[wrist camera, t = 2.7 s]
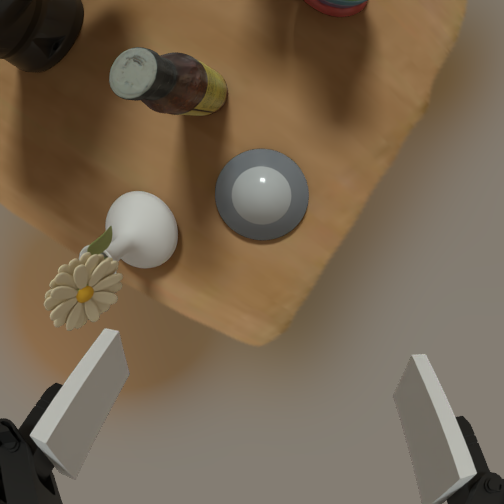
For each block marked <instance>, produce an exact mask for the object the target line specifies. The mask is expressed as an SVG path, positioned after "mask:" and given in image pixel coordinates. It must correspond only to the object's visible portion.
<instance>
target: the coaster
mask: <svg viewBox="0 0 504 504" xmlns="http://www.w3.org/2000/svg"><path fill="white" fill-rule="evenodd" d="M308 198H309V192H308V186H307V182H306V179H305V177H304V174H303V173H302V171H301V169H300V168H299V167H298V165H297V164H296V163H295V162H294V161H293V160H292V159H290V158H289V157H288V156H286V155H284V154H282V153H280V152H277V151H274V150H270V149H253V150H249V151H246V152H243V153H241V154H239V155H237V156H236V157H234V158H233V159H232V160H230V161H229V162H228V163H227V164H226V165H225V167H224V168H223V169H222V171H221V173H220V175H219V177H218V180H217V183H216V187H215V200H216V205H217V208H218V211H219V213H220V215H221V217H222V219H223V220H224V221H225V223H226V224H227V225H228V226H229V227H230V228H231V229H232V230H234V231H235V232H236V233H238V234H240V235H242V236H244V237H247V238H250V239H255V240H271V239H275V238H278V237H281V236H283V235H285V234H287V233H288V232H290V231H291V230H292V229H294V228H295V227H296V226H297V225H298V223H299V222H300V221H301V219H302V218H303V216H304V214H305V212H306V209H307V205H308Z"/></svg>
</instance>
